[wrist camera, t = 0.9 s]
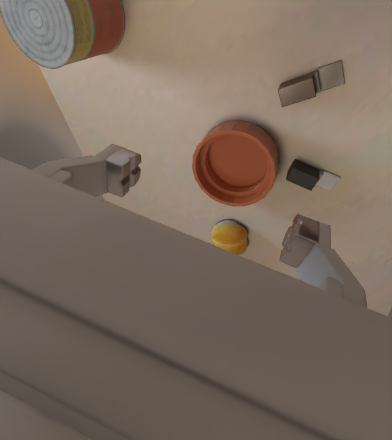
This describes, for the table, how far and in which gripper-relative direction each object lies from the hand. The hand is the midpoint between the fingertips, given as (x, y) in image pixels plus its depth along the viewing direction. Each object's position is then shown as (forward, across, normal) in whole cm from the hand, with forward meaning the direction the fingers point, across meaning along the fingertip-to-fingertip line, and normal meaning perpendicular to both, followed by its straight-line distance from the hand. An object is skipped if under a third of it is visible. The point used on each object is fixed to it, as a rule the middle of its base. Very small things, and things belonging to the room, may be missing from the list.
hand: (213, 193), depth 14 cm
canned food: (+35, +31, +1) cm, 47 cm away
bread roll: (+35, -2, +35) cm, 50 cm away
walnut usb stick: (+35, -4, +1) cm, 35 cm away
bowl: (+35, +2, +16) cm, 38 cm away
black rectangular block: (+35, -11, +15) cm, 39 cm away
